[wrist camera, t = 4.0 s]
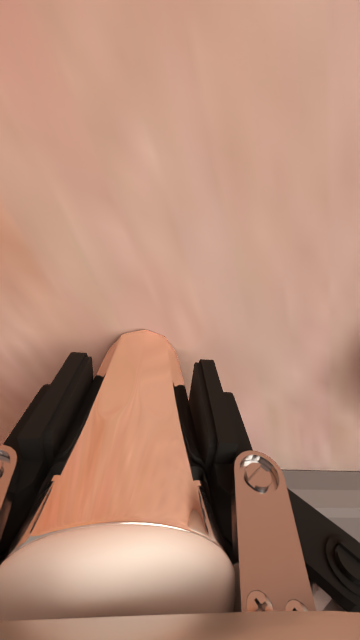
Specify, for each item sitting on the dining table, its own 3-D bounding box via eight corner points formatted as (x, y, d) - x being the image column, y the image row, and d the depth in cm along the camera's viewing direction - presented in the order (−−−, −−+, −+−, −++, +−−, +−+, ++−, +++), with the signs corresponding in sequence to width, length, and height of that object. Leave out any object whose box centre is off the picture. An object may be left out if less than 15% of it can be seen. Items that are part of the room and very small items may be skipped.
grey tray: (434, 473, 17) (469, 508, 15) (353, 569, 23) (371, 603, 21) (176, 468, 16) (177, 506, 14) (160, 572, 21) (160, 609, 19)
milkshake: (181, 408, 13) (227, 826, 4) (82, 380, 12) (-135, 890, 3) (220, 341, 12) (421, 790, 3) (111, 300, 10) (-178, 898, 1)
